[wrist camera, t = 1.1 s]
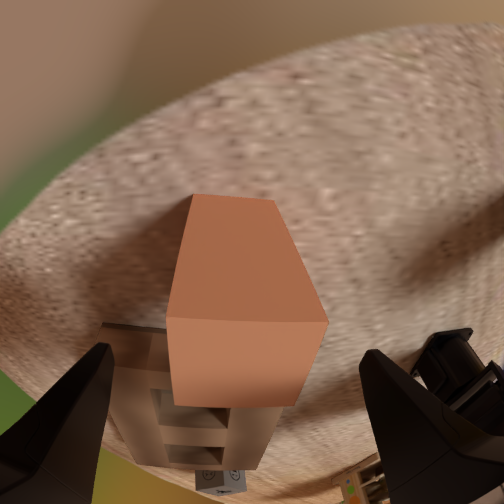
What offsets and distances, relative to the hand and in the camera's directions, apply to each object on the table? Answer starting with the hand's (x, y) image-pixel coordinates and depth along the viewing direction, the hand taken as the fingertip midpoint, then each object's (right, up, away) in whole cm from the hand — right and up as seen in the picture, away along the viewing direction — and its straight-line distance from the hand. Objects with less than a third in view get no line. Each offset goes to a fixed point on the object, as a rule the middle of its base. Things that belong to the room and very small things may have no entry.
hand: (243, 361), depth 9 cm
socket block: (-5, -11, +16) cm, 20 cm away
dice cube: (-4, -26, +26) cm, 37 cm away
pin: (-1, +5, +8) cm, 10 cm away
